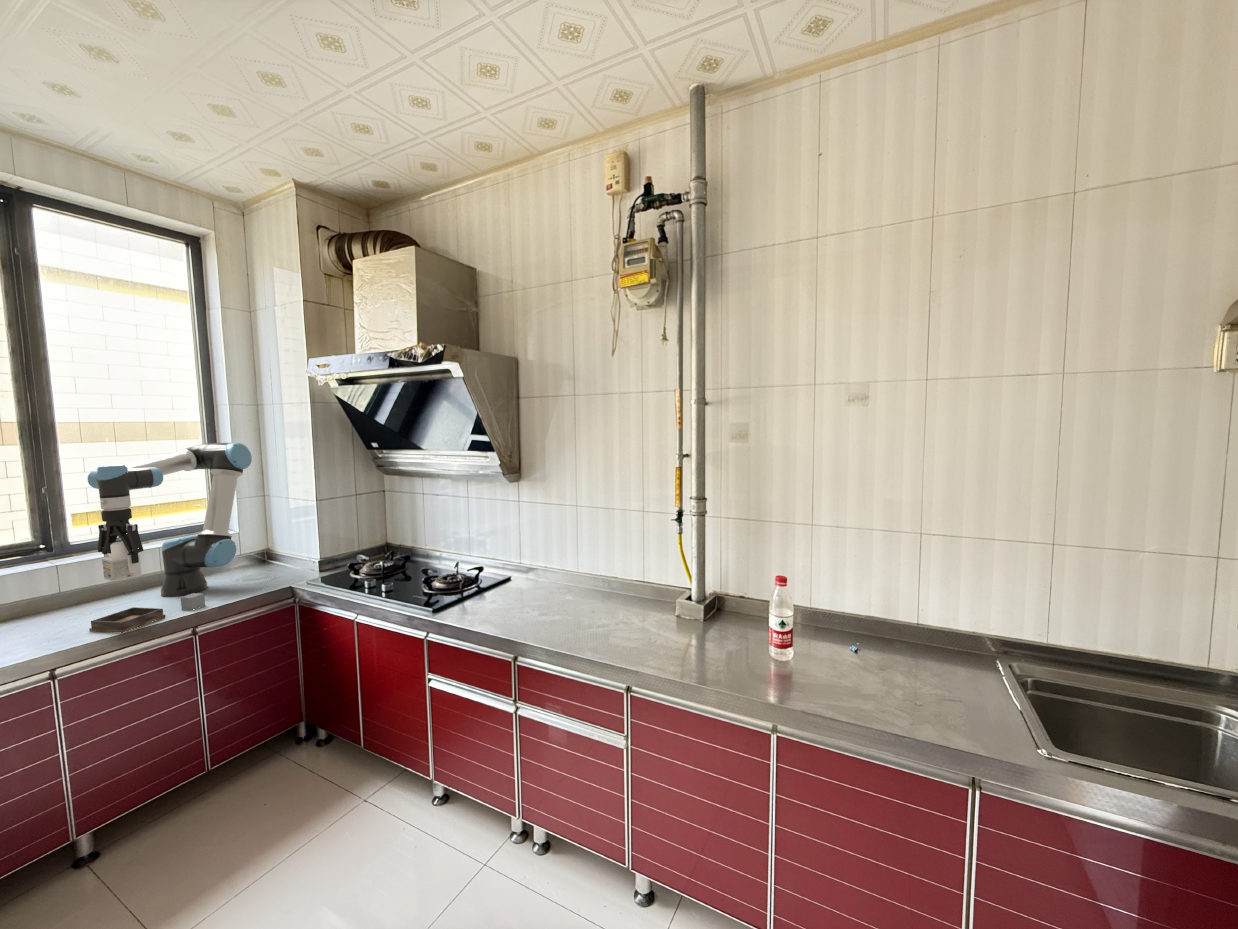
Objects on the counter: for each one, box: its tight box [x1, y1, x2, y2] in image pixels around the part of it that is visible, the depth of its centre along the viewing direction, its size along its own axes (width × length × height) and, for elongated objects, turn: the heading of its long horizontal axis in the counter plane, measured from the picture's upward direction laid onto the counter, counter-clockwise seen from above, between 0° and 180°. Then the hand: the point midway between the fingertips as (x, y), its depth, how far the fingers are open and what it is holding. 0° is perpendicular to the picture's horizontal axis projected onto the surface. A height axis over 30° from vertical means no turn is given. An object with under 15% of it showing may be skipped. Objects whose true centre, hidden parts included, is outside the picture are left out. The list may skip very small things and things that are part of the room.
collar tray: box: [89, 606, 166, 634], centre depth 182 cm, size 14×14×4 cm
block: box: [179, 592, 206, 611], centre depth 197 cm, size 5×5×5 cm
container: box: [101, 539, 143, 582], centre depth 180 cm, size 8×8×13 cm
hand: (122, 571), depth 180 cm, fingers closed on container, 9 cm apart
